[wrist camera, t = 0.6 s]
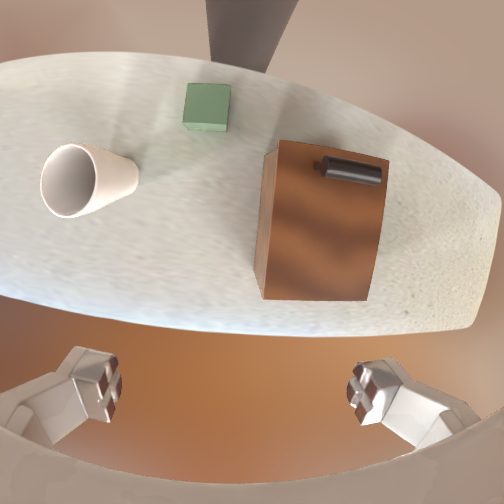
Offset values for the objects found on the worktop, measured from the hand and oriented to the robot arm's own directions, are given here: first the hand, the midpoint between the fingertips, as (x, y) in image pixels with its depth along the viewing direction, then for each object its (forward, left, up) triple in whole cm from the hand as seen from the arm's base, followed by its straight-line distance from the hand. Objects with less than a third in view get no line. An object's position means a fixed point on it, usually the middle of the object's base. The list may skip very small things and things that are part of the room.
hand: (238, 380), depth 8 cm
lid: (-2, +10, -21) cm, 23 cm away
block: (-15, -4, -30) cm, 33 cm away
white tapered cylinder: (-6, -15, -30) cm, 34 cm away
